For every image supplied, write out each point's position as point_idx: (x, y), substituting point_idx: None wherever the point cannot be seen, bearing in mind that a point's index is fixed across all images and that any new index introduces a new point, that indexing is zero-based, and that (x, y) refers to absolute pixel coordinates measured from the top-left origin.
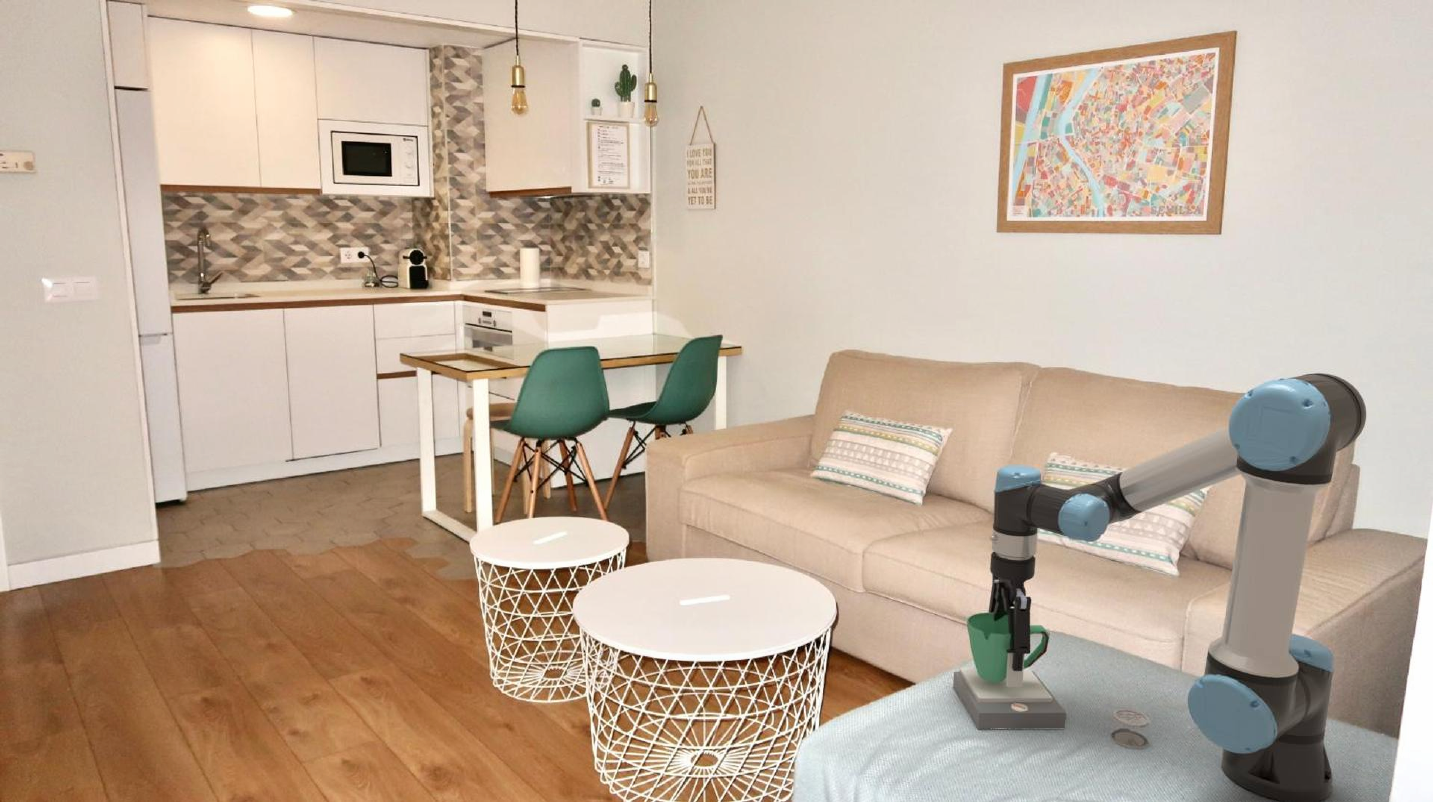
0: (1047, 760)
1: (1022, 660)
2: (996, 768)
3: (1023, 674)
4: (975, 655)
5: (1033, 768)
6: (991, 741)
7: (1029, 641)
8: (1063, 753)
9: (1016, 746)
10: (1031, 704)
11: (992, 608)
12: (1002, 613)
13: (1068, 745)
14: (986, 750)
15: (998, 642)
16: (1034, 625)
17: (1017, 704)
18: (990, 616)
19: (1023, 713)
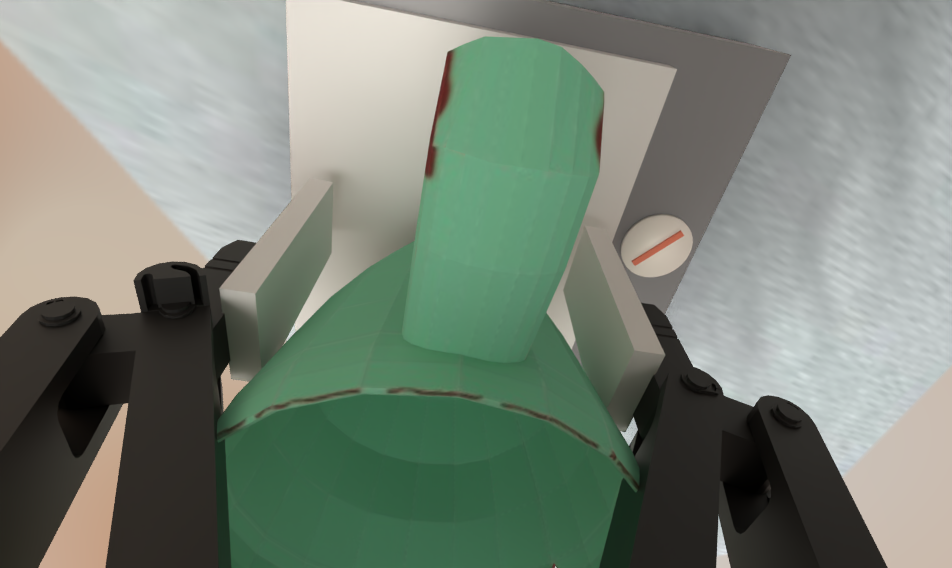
0: (879, 240)
1: (682, 352)
2: (817, 383)
3: (383, 80)
4: (460, 454)
5: (883, 301)
6: (693, 339)
7: (845, 494)
8: (884, 163)
9: (755, 288)
10: (649, 181)
11: (72, 490)
12: (222, 482)
13: (856, 110)
14: (728, 369)
15: (600, 526)
16: (466, 247)
17: (635, 245)
18: None
19: (695, 248)
